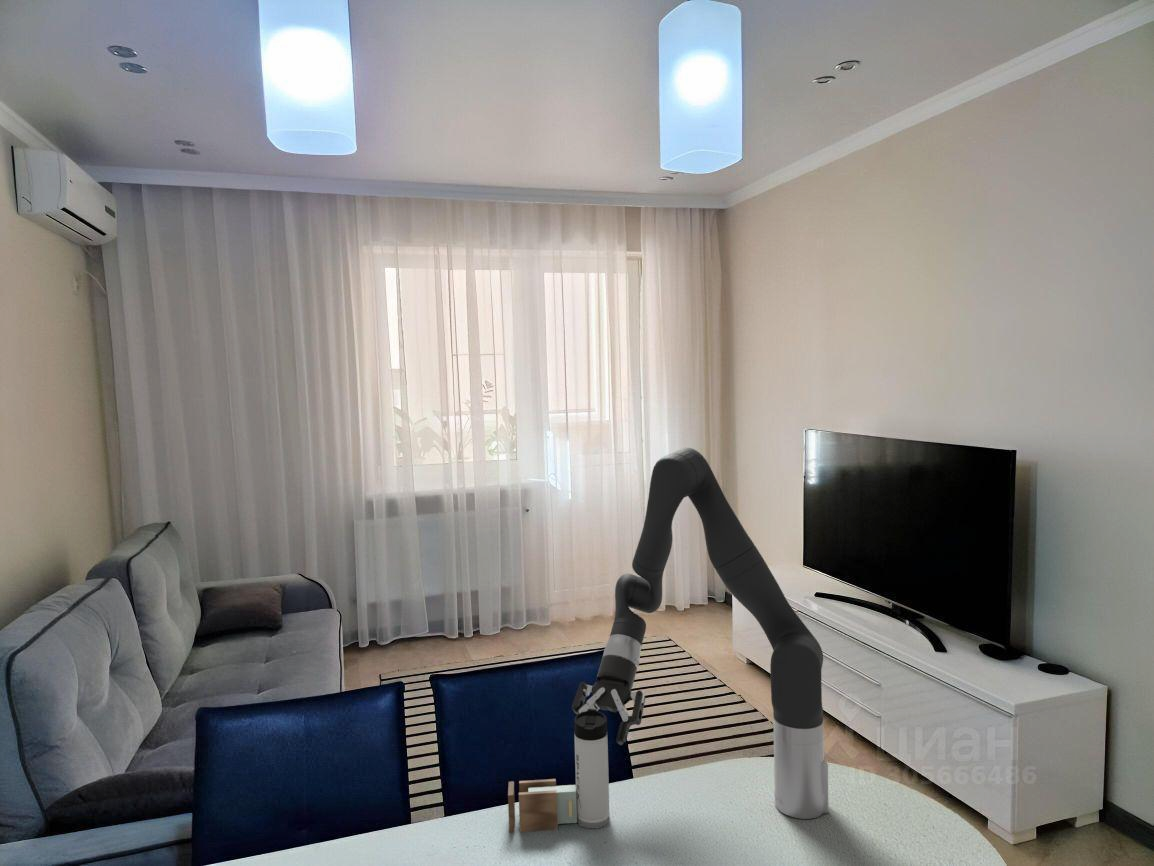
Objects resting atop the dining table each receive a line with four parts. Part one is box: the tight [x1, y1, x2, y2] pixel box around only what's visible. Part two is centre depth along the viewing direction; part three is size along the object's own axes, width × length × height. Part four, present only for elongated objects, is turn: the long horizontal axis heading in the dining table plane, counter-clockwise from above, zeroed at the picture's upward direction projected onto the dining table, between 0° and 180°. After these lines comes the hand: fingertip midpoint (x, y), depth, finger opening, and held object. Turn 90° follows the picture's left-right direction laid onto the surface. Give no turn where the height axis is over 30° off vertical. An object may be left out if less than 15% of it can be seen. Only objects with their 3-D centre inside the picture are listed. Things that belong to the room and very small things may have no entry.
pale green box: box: [528, 784, 578, 825], centre depth 138 cm, size 9×3×6 cm, turn 94°
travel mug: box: [573, 709, 611, 829], centre depth 139 cm, size 6×7×20 cm
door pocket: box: [507, 778, 559, 833], centre depth 138 cm, size 9×5×7 cm, turn 94°
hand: (598, 739), depth 142 cm, fingers open, 8 cm apart
